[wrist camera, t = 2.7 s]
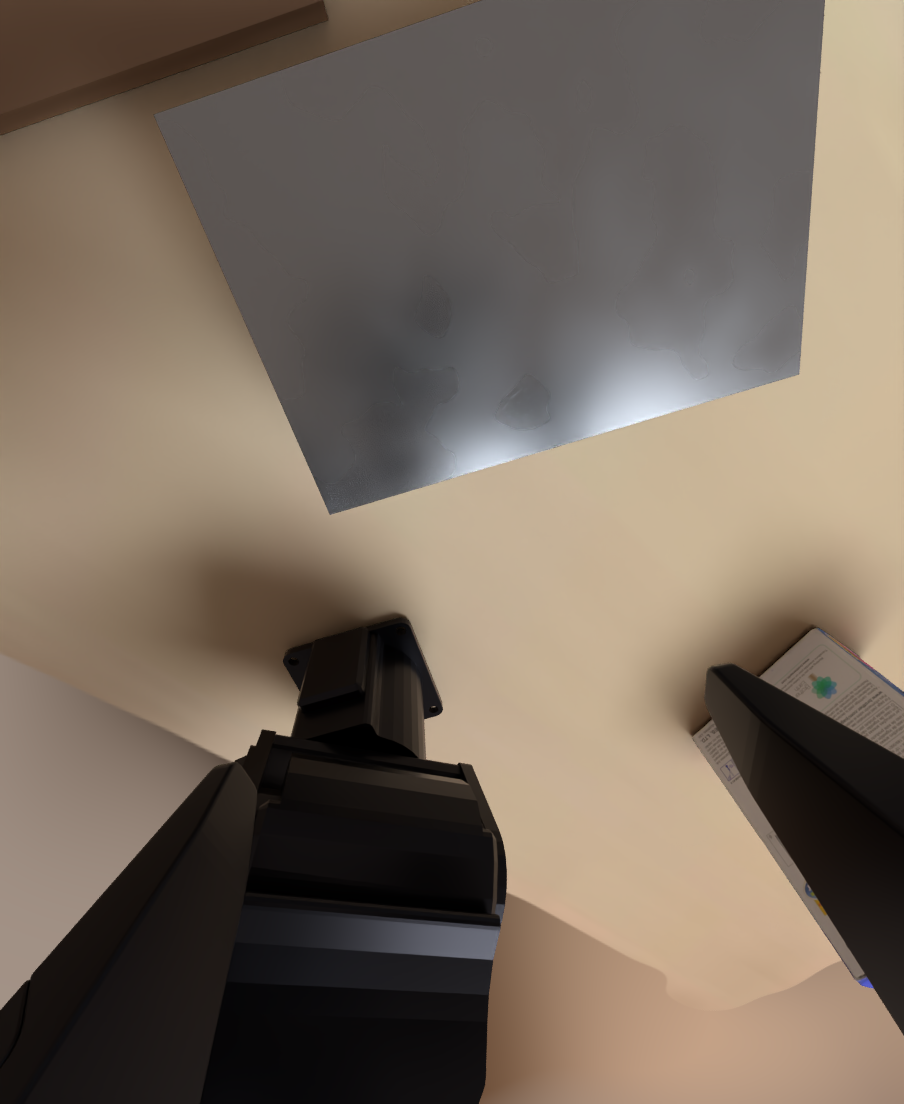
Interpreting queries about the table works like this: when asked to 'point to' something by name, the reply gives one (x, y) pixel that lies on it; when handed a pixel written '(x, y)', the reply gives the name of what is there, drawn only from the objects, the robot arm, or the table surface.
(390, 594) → the table surface
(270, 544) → the table surface
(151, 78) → the plate
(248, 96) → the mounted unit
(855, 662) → the ink cartridge box
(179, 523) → the table surface
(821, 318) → the table surface
